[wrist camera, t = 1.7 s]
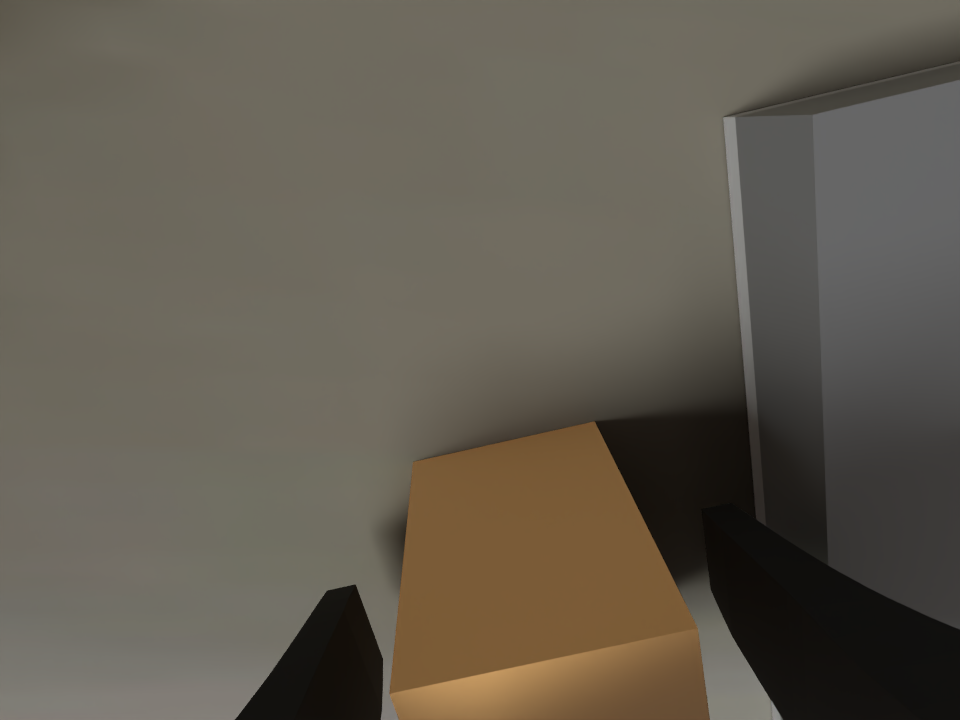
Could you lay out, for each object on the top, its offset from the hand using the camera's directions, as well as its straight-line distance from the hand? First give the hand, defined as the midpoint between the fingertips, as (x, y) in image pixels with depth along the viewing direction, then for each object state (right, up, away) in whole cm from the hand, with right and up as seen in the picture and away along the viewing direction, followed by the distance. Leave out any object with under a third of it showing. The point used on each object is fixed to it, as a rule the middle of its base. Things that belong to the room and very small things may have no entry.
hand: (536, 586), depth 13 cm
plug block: (0, +1, +2) cm, 2 cm away
